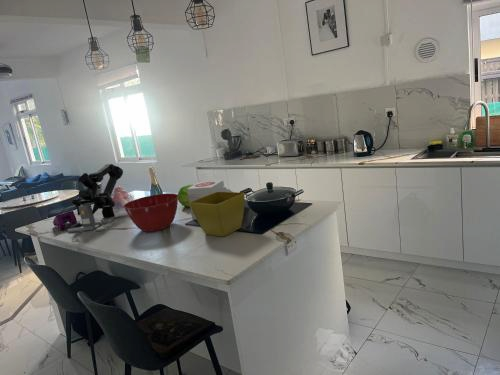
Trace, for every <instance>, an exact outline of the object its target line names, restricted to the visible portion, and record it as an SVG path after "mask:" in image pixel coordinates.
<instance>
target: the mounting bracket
mask: <svg viewBox="0 0 500 375" xmlns="http://www.w3.org/2000/svg"><path fill="white" fill-rule="evenodd" d="M67 223H69V225H70V227H71V226H72V225H74V224H76V223H78V220H77V217H76V214H75V211H74V210H70V211H67V212H63V213H60V214H56V215H55V216H54V218H53V221H52V224H53V226H54V227H57V229H58V231H63V230H65V224H67Z"/></svg>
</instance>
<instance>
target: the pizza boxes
mask: <svg viewBox="0 0 500 375" xmlns="http://www.w3.org/2000/svg"><path fill="white" fill-rule="evenodd" d="M192 185H193V186H191V187H189V188H188V189H187V193H188V198H189V204H190V202H191V201H194V200H197V199H199V198H202V197H204V196H207V195H210V194H212V193H215V192H233V191H232V190H231V189H229V188H227V187H225V183H224V180H211V181H200V182H197V183H195V184H192ZM189 208H190V214H191V219H192V220H195V221H197V219H196V217H195V215H194V213H193V210H192V208H191V205H190V207H189Z"/></svg>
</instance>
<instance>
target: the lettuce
mask: <svg viewBox="0 0 500 375" xmlns="http://www.w3.org/2000/svg"><path fill="white" fill-rule="evenodd" d="M193 185H194V184H187V185H185V186H182V187H180V189H179V191H178V193H177V195H178V203H179V204H181V206H183V207H186V208H190V204H189V198H188V193H187V189H188V188H189V187H191V186H193Z"/></svg>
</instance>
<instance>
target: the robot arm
mask: <svg viewBox="0 0 500 375" xmlns="http://www.w3.org/2000/svg"><path fill="white" fill-rule="evenodd" d="M107 174H108V176H109V177H108V181H107V183H106V185H105V188H104V190H103V192H101V193H98V189H101V186H100V184H99V183H101V182H102V181H103V180H104V176H106V175H107ZM123 174H124V170H123V169H122V168H121V167H120V166H117V165H115V164H113V163H107V164H105V165H104V166H102V167H101V168H100V169H99V170H97V171H95V172H92V173H89V174H88V173H87V172H83V173H82V174H81V175H80V176H79V178H78V182H79V183H80V184H81V185H82V186H83V187H84V188H86V189H83V190H78V197H79V198H73V199H72V201H71V204H72V205H74V206H75V207H76V212H77V215H78V216H80V212H79V208H78V207H79V206H81V205H86V204H93V206H92V214H93V215H94V214H95V213H96V212H97V211H98V210H100V209H101V213H102V217H103V219H107V218H112V217H116V215H115V211H114V208H113V207H115V206H116V203H115V201H114V200H113V199H112V193H113V192H114V189H115V187H116V183H117V181H118V180H119V179H121V178H122V176H123ZM80 197H81V198H80ZM82 199H83V200H82Z"/></svg>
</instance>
